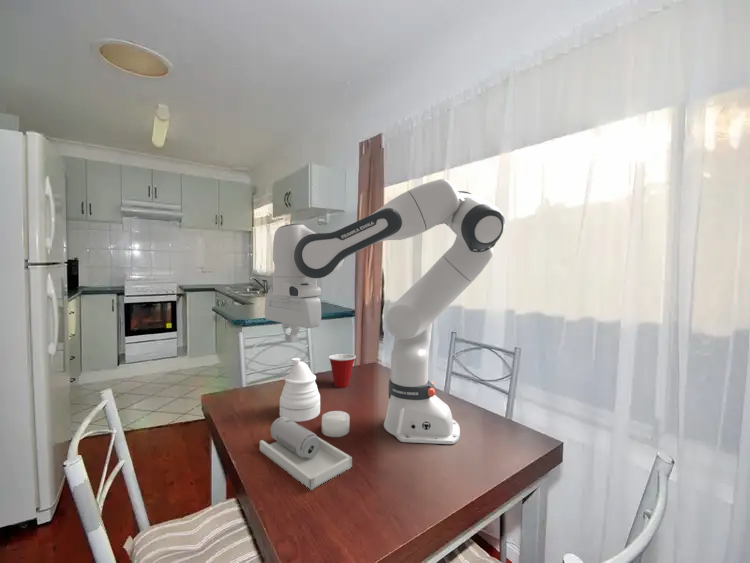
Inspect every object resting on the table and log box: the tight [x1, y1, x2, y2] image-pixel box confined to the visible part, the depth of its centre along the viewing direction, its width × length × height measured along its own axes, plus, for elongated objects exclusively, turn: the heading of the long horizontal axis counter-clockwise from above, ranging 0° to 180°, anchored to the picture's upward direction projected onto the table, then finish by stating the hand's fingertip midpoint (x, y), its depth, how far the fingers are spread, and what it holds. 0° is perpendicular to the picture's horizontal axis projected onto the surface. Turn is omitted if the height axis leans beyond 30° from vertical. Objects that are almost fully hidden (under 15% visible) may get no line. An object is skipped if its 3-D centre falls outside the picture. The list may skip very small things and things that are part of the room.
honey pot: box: [279, 357, 321, 423], centre depth 111 cm, size 13×13×18 cm
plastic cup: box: [328, 353, 357, 389], centre depth 136 cm, size 11×11×12 cm
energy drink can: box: [270, 416, 320, 458], centre depth 89 cm, size 6×6×15 cm
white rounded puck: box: [321, 410, 351, 438], centre depth 100 cm, size 8×8×4 cm
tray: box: [259, 436, 353, 491], centre depth 85 cm, size 22×12×2 cm, turn 47°
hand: (291, 340), depth 89 cm, fingers closed
